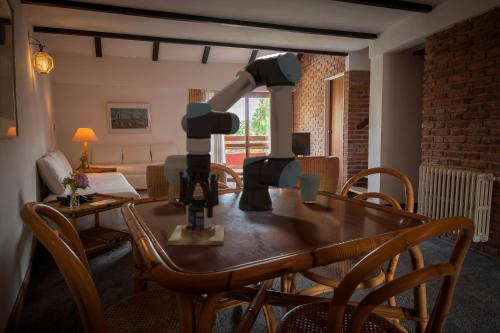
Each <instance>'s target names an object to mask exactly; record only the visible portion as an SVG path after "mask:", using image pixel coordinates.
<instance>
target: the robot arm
mask: <svg viewBox="0 0 500 333" xmlns="http://www.w3.org/2000/svg"><path fill="white" fill-rule="evenodd" d="M301 77H302V66H301V63H300V60H299V59H298V56H296V54H294V52H293V53H292V52H289V51H287V52H279V53H275V54H271V55H265V56H260V57H258V58H255V59H254V60H252V61H251V62H249V63H247V64H246V65H245V66H244V67H242V68H241V69H240V70H239V71H238V72H237V73H236V75H235V77H234V78H233V79H232V80H231V81H230V82H228V83H227V84H226V85H225V86H224V87H223V88H221V89H220V90H219V91H217V93H215V94H214V96H212V97H211V98H210V99H208V101H191V102H188V103H187V105H186V111H185V114H184V115H183V116H182V119H181V121H180V125H181V126H180V127H181V128H182V130H183V132H184V133H185V134H186V139H185V140H186V143H185V144H186V145H185V146H186V147H185V150H186V151H185V152H187V154H185V155H186V164H187V166H188V168H187V170H186V171H182V172H179V176H180V187H179V196H178V198H179V200H178V201H179V203H182V204H183V205H184V215H185V217H186V218H185V219H186V222H185V225H186V226H189V206H191V205H192V203H191V198H193V197H194V195H195V192H196V186H197V185H199V186H200V188H201V191H202V195H203V196H202V197H204V200H205V205H206V207H205V208H204V229H207V228H210V227H211V224H212V218H213V216H214V207H216V206H219V204H220V200H219V199H220V198H219V182H218V181H219V179H220V178H219V177H220V174H219V173H214V172H212V170H211V164H212V155H211V153H210V152H212V135H223V136H224V135H226V136H231V135H232V136H233V135H235V134H237V133H238V131H239V129H240V127H241V121H240V118H239V116H238V115H237V114H236V113H234V112H230V111H229V110H230V109H231V108H232V107H233V106H235V104H237V102H238V101H240V99H242V98H243V97H244V96H246V94H248V93H251V92H254V90H256V89H258V88H261V87H265V86H266V90H267V91H268V92H269V93H270V94H269V95H270V96H269V98H270V100H269V102H270V103H269V104H270V105H269V106H270V152H269V153H268V155H256V156H247V157H245V158H244V159H243V160H242V162H243V164H242V192H241V195H240V198H239V199H238V200H239V201H238V209H241V210H245V211H249V212H250V211H251V212H261V210H264V211H268V210H267V209H269V210H271V209H273V200H272V197H271V194H270V187H272V188H277V189H278V188H279V189H292V188H294V187H296V186H297V185H298V182H300V176H301V173H302V166H301V163H300V162H299V161H298V160H296V154H295V153H294V152H293V150H292V149H293V148H292V146H293V138H292V136H293V134H292V133H293V132H292V130H293V129H292V124H293V119H292V118H293V117H292V113H293V110H292V109H293V108H292V103H293V102H292V100H293V99H292V93H293V91H294V90H295V89H296V83H298V82H299V81H300V80H301ZM188 176H189V181H188ZM270 208H271V209H270Z"/></svg>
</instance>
